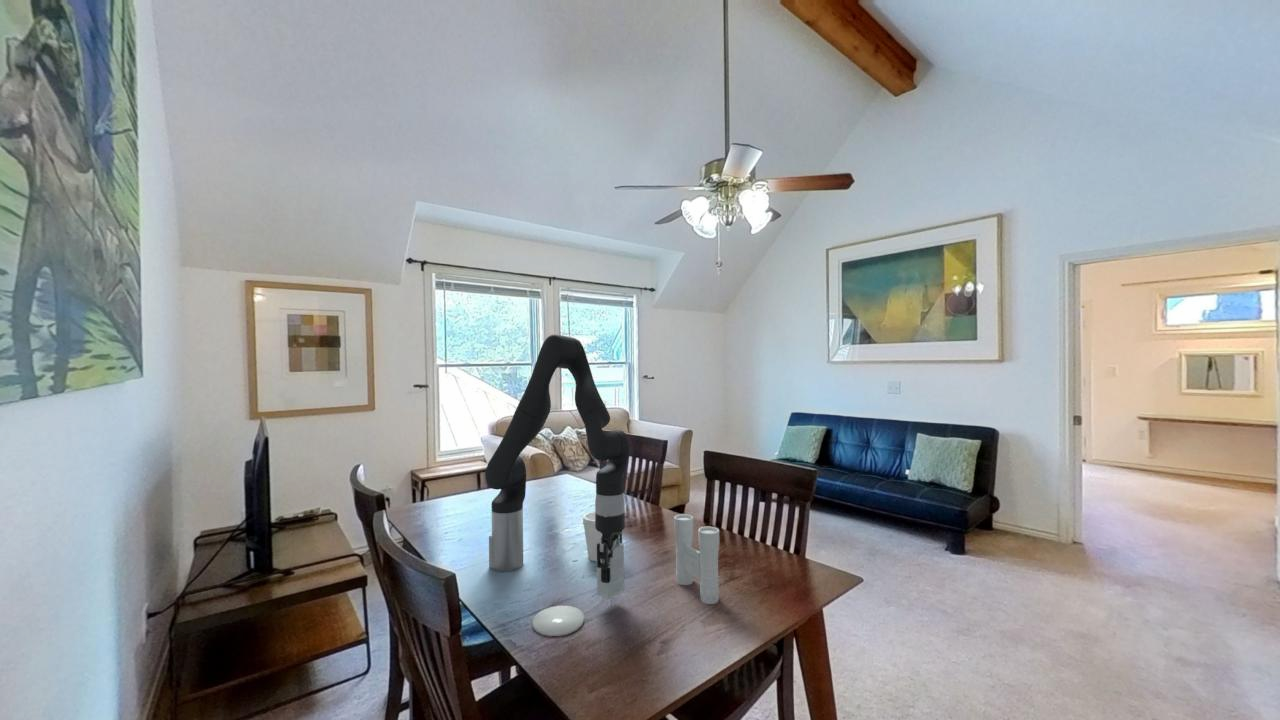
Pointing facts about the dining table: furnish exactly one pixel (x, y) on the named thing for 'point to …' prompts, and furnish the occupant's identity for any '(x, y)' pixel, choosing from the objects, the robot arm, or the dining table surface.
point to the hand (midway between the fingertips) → (610, 575)
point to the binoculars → (697, 557)
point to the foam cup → (591, 535)
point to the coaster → (558, 620)
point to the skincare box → (613, 575)
